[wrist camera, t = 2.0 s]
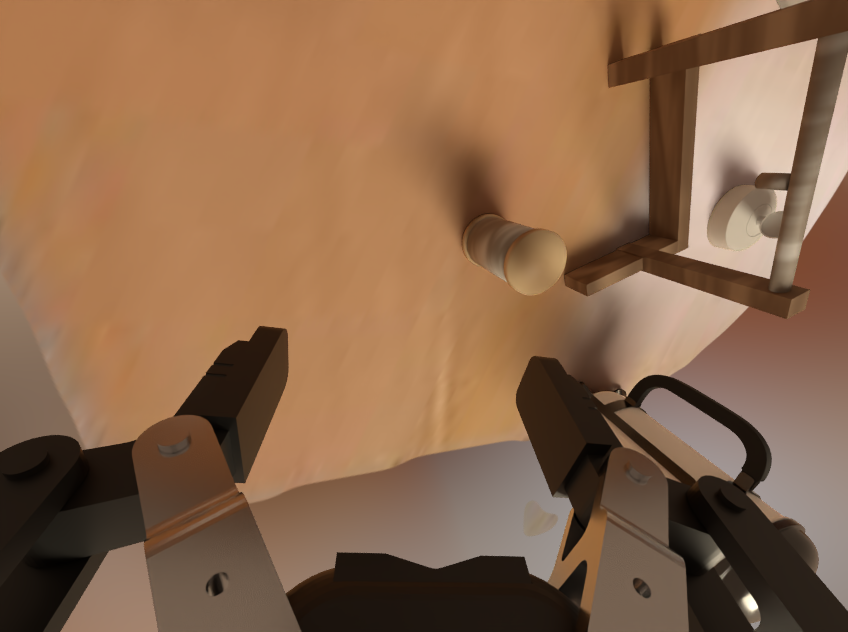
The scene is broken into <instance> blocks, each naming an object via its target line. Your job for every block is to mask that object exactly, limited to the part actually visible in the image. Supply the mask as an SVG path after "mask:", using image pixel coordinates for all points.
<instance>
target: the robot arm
mask: <svg viewBox="0 0 848 632" xmlns="http://www.w3.org/2000/svg"><path fill="white" fill-rule="evenodd" d="M287 377H288V333H287V330H286V329H283V328H274V327H265V326H259V327H258V328H257V330H256V331H255V333H254V335H253V336H252V338H251V339H250V341H240V340H238V341H237V342H235V343H233V344H232V345H230V346H229V347H227V348H226V349H224V350H223V351H222V352H221V353H220V355H219V356H218V358H217V359H216V360H215V362H214V365H212V366H211V367H210V368H209V370H208V371H207V372H206V376H203V378H202V379H201V380H200V382H199V383H198V384H197V386H196V387H195V388H194V390H193V391H192V392H191V394H190V395H189V396H188V398H187V399H186V401H185V402H184V403H183V405H182V406H181V407H180V409H179V410H178V411H177V413H176V414H175V415H174V417H171V418H167V419H165V420H162V421H160V422H158V423H156V424H154V425H153V426H151V427H149V428H148V429H147V430H145V431H144V432H143V433H142V434H141V435H140V436H139V437H138V439H137V440H134V441H131V442H127V443H122V444H116V445H111V446H105V447H99V448H93V449H87V450H82V449H81V447H80V445H79V443H78V442H77V441H76V440H75V439H73V438H71V437H68V436H62V435H50V436H43V437H38V438H33V439H30V440H27V441H24V442H21V443H19V444H16V445H14V446H12V447H10V448H7V449H5V450H4V451H2V452H0V632H60V631H61V630H62V628H63V626H64V624H65V623H66V621H67V620H68V618H69V616H70V614H71V613H72V611H73V610H74V608H75V606H76V605H77V603H78V601H79V600H80V598H81V596H82V595H83V593H84V591H85V590H86V588H87V586H88V585H89V583H90V581H91V580H92V578H93V576H94V575H95V573H96V571H97V570H98V568H99V566H100V565H101V563H102V561H103V560H104V558H105V556H106V555H107V553H108V551H109V550H113V549H117V548H120V547H124V546H128V545H132V544H135V543H139V542H143V541H144V550H145V557H146V563H147V569H148V575H149V580H150V586H151V592H152V597H153V604H154V609H155V615H156V621H157V627H158V632H848V611H847V610H846V609H845V607H844V606H843V605H842V604H841V603H840V602H839V601H838V599H837V598H836V597H835V596H834V595H833V593H832V592H831V591H830V590H829V589H828V588H827V587H826V585H825V584H824V583H823V582H822V581H821V580H820V578H819V577H818V576H817V575H816V574H815V573H814V571H813V570H812V569H811V568H810V567H809V566H808V564H807V563H806V562H805V561H804V560H803V559H802V557H801V556H800V555H799V554H798V553H797V552H796V550H795V549H794V548H793V547H792V546H791V545H790V543H789V542H788V541H787V540H786V539H785V538H784V536H783V535H782V534H781V533H780V532H779V531H778V529H777V528H776V527H775V526H774V525H773V524H772V522H771V521H770V520H769V519H768V518H767V517H766V515H765V514H764V513H763V512H762V511H761V510H760V508H759V507H758V506H757V505H756V504H755V503H754V502H753V501H752V500H751V499H750V498H749V497H748V496H747V495H746V494H745V493H744V492H742V491H741V490H740V489H738V488H737V487H736V486H734V485H732V484H731V483H729V482H727V481H725V480H723V479H721V478H718V477H715V476H710V475H705V476H702V477H700V478H699V479H698V480H697V481H696V483H695V484H694V485H693V486H689V485H687V484H684V483H681V482H678V481H675V480H672V479H669V478H666V477H665V475H664V474H663V472H662V471H661V470H660V469H659V467H658V466H657V465H656V464H655V463H654V462H652V461H651V460H650V459H649V458H647V457H646V456H645V455H643V454H641V453H639V452H637V451H635V450H632V449H629V448H624V447H623V446H622V444H621V443H620V441H619V440H618V438H617V437H616V435H615V434H614V432H613V431H612V429H611V428H610V426H609V425H608V423H607V422H606V420H605V419H604V417H603V416H602V414H601V413H600V411H598V410H597V407H596V405H595V404H594V402H593V401H592V400H590V396H589V395H588V393H587V392H586V390H585V389H584V387H583V386H582V385H581V384H580V383H579V382H578V381H576V380H575V379H574V378H573V377H572V376H571V375H567V373H566V372H565V370H564V369H563V367H562V365H561V364H560V362H559V361H558V360H557V359H555V358H546V357H537V356H534V357H532V358H531V359H530V361H529V363H528V366H527V368H526V370H525V373H524V375H523V378H522V380H521V382H520V385H519V387H518V390H517V394H516V405H517V408H518V411H519V413H520V416H521V418H522V421H523V424H524V426H525V429H526V431H527V434H528V436H529V439H530V441H531V443H532V446H533V449H534V451H535V454H536V456H537V459H538V461H539V464H540V466H541V469H542V471H543V473H544V476H545V479H546V481H547V484H548V486H549V489H550V491H551V494H552V496H553V497H560V498H569V500H570V502H571V504H572V507H573V508H572V509H571V511H570V513H569V516H568V520H567V524H566V527H565V530H564V534H563V538H562V541H561V545H560V548H559V552H558V556H557V559H556V563H555V566H554V569H553V571H552V574H551V576H550V578H549V580H548V582H546V581H544V580H542V579H540V578H538V577H536V576H534V575H532V574H529V572H528V568H527V565H526V561H525V558H524V557H513V556H512V557H510V556H479V557H475V558H472V559H469V560H466V561H463V562H459V563H456V564H453V565H449V566H446V567H443V568H439V569H432V568H429V567H426V566H423V565H419V564H416V563H413V562H410V561H407V560H404V559H401V558H398V557H395V556H392V555H389V554H382V553H381V554H380V553H338V552H337V557H336V564H335V568H333V569H329V570H326V571H323V572H321V573H318V574H316V575H314V576H311V577H310V578H308V579H306V580H305V581H303V582H301V583H299V584H298V585H297V586H295V587H294V588H293V589H291V590H290V591H289V592H287V593H285V591H284V589H283V586H282V584H281V582H280V579H279V577H278V574H277V572H276V570H275V567H274V565H273V562H272V560H271V557H270V555H269V553H268V550H267V548H266V545H265V543H264V541H263V538H262V536H261V533H260V531H259V528H258V526H257V524H256V521H255V519H254V516H253V514H252V511H251V509H250V507H249V504H248V502H247V500H246V498H245V496H244V494H243V493H242V492H240V493H239V491H238V489H237V487H236V485H235V483H245V482H246V480H247V477H248V475H249V473H250V470H251V468H252V465H253V463H254V461H255V458H256V456H257V453H258V451H259V449H260V446H261V444H262V441H263V439H264V437H265V434H266V432H267V429H268V427H269V425H270V422H271V420H272V417H273V415H274V413H275V410H276V408H277V405H278V403H279V401H280V398H281V396H282V393H283V391H284V389H285V386H286V382H287ZM724 558H726V559H727V561H728V562H729V564H730V565H731V567H732V568H733V570H734V571H735V572H736V574H737V575H738V577H739V578H740V580H741V581H742V583H743V584H744V586H745V587H746V588H747V590H748V591H749V593H750V594H751V596H752V597H753V599H754V600H755V602H756V604H757V606H758V608H759V612H760V617H761V621H760V625H759V627H758V628H756V629H755V630H754V629H753V627H752V626H751V624H750V623H749V621H748V620H747V618H746V616H745V615H744V613H743V612H742V610H741V609H740V607H739V606H738V604H737V602H736V601H735V599H734V598H733V596H732V595H731V593H730V592H729V590H728V589H727V587H726V585H725V584H724V582H723V581H722V579H721V578H720V576H719V575H718V573H717V571H716V570H715V568H714V566H715V565H716V564H717V563H719V562H720V561H721V560H722V559H724Z"/></svg>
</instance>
